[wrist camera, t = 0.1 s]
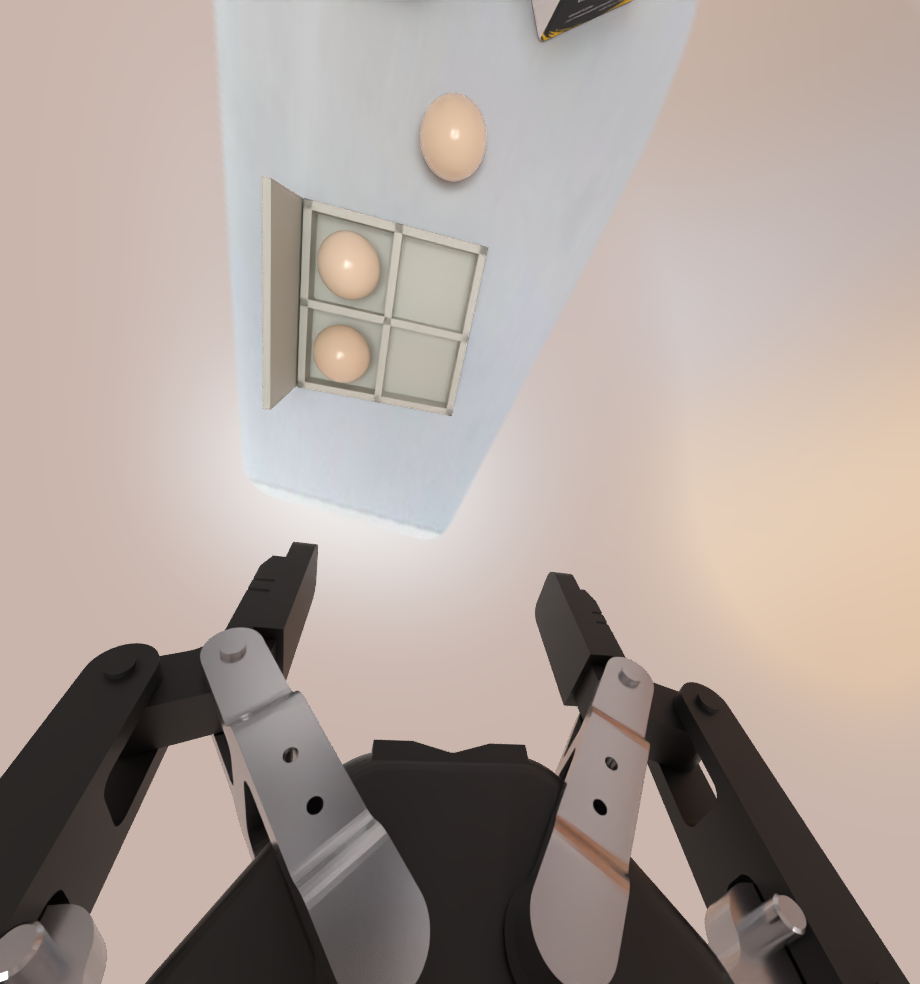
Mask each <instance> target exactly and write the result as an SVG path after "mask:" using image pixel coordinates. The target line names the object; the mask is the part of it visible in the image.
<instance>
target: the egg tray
mask: <svg viewBox="0 0 920 984" xmlns="http://www.w3.org/2000/svg"><path fill="white" fill-rule="evenodd" d="M341 230H348V231H353V232H356V233H358V234H360V235H362V236H363V237H365V238H366V239H367V240H368V241H369V242H370V243H371V244H372V246H373V247H374V249H375V251H376V253H377V255H378V258H379V262H380V278H379V281H378V284H377V286H376V287H375V289H374V290H373V291H372V293H370V294H369V295H368V296H366V297H364V298H362V299H359V300H347V299H343V298H341V297H338V296H337V295H335V294H334V293H332V292H331V291H330V290H329V289H328V288H327V286H326V285H325V284H324V282H323V281H322V279H321V277H320V274H319V271H318V265H317V256H318V251H319V248H320V246H321V244H322V242H323V241H324V240H325V238H326V237H327V236H329V235H330V234H332V233H334V232H336V231H341ZM487 250H488V247H484V246H481V245H477V244H473V243H469V242H466V241H462V240H458V239H454V238H451V237H447V236H443V235H440V234H436V233H432V232H428V231H425V230H421V229H417V228H413V227H410V226H406V225H402V224H399V223H395V222H391V221H387V220H384V219H380V218H376V217H372V216H369V215H365V214H361V213H357V212H354V211H350V210H346V209H343V208H339V207H335V206H331V205H328V204H324V203H320V202H316V201H313V200H309V199H305V198H304V199H303V198H302V197H300V196H298V195H297V194H295V193H294V192H292V191H290V190H289V189H287V188H286V187H284V186H283V185H281V184H279V183H278V182H276V181H275V180H273V179H271V178H269V177H265V176H262V306H263V409H268V410H271V409H272V408H273V407H274V406H275V405H276V404H277V403H278V402H279V401H280V400H282V399H283V398H284V397H285V396H286V395H287V394H288V393H289V392H290V391H291V390H292V389H294V388H295V387H296V386H297V387H300V388H305V389H311V390H316V391H321V392H327V393H332V394H337V395H343V396H348V397H353V398H359V399H364V400H369V401H375V402H380V403H385V404H391V405H396V406H401V407H407V408H412V409H417V410H423V411H428V412H433V413H439V414H444V415H449V416H452V412H453V407H454V403H455V398H456V393H457V389H458V384H459V380H460V375H461V370H462V366H463V361H464V356H465V352H466V347H467V343H468V338H469V333H470V329H471V324H472V320H473V315H474V310H475V306H476V301H477V297H478V292H479V287H480V283H481V278H482V273H483V269H484V264H485V260H486V255H487ZM337 324H342V325H347V326H350V327H352V328H354V329H356V330H357V331H358V332H360V333H361V334H362V335H363V337H364V338H365V339H366V341H367V343H368V345H369V348H370V354H371V359H370V364H369V367H368V369H367V371H366V373H365V374H364V375H363V376H362V377H361V378H359V379H358V380H356V381H354V382H350V383H338V382H335V381H332V380H330V379H328V378H327V377H325V376H324V375H323V374H322V373H321V372H320V370H319V369H318V368H317V366H316V364H315V361H314V358H313V345H314V341H315V339H316V337H317V335H318V334H319V333H320V332H321V331H322V330H323V329H325V328H326V327H329V326H332V325H337Z"/></svg>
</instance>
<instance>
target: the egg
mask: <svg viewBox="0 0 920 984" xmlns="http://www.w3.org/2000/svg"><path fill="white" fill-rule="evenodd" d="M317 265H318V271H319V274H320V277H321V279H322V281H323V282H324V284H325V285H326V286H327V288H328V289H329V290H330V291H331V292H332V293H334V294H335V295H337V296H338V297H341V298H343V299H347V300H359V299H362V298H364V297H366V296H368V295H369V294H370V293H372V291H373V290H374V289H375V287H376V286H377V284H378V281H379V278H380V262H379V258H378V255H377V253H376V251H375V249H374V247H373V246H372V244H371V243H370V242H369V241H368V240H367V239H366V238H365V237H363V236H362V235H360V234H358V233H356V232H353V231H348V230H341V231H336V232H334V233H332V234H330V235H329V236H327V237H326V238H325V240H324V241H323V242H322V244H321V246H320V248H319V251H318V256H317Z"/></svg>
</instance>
